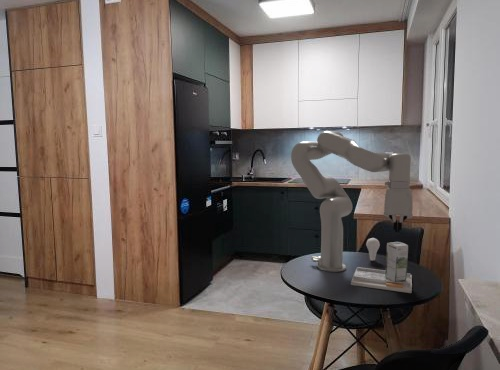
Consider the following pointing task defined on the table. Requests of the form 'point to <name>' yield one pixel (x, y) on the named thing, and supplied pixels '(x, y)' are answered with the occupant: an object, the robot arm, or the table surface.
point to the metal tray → (377, 277)
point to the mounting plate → (383, 285)
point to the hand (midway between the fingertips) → (397, 231)
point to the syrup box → (396, 261)
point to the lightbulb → (372, 247)
